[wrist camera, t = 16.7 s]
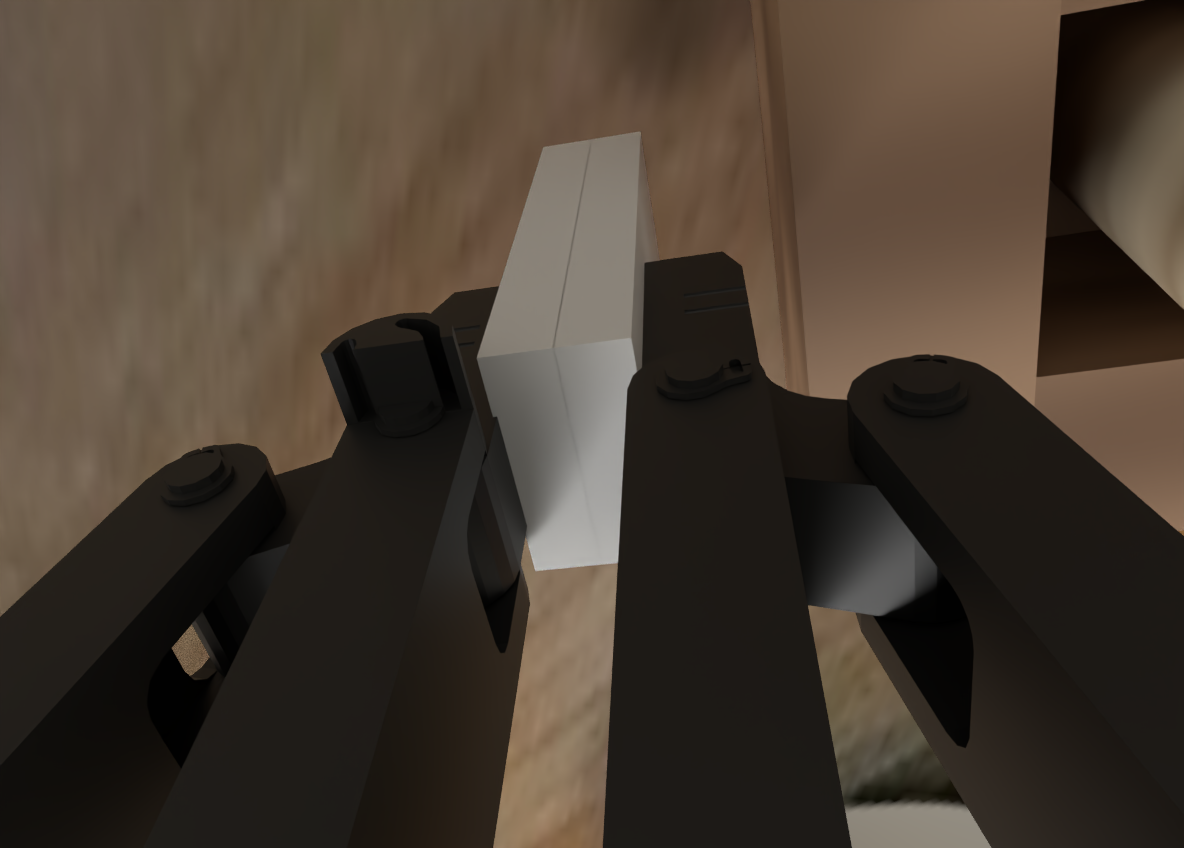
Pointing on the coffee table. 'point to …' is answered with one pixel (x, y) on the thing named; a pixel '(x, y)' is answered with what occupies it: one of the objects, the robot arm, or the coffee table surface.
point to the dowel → (1125, 129)
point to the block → (957, 222)
